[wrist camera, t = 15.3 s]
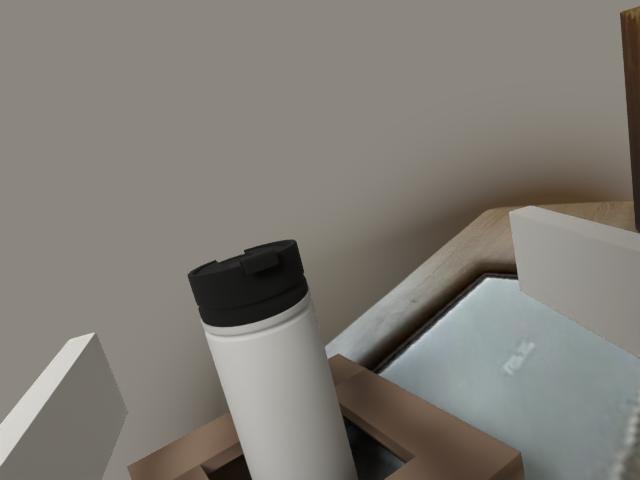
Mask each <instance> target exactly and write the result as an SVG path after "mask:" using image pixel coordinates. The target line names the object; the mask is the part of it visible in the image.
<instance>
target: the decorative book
mask: <svg viewBox="0 0 640 480" xmlns="http://www.w3.org/2000/svg"><path fill="white" fill-rule="evenodd" d="M620 18H621V30H622V46H623V59H624V73H625V87H626V101H627V115H628V129H629V142H630V157H631V170H632V184H633V198H634V212H635V226H636V229H637V230H638V231H640V7H636V8H633V9H630V10H626V11H623V12H621V13H620Z"/></svg>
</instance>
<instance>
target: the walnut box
mask: <svg viewBox="0 0 640 480" xmlns="http://www.w3.org/2000/svg"><path fill="white" fill-rule="evenodd" d="M328 363H329V367H330V371H331V375H332V379H333V382H334V386H335V390H336V394H337V398H338V402H339V406H340V410H341V414H342V418H343V421H344V425H345V426H347V425H348V424H350V423H351V424H352V425H354V426H355V427H356V428H358V429H359V430H360V431H362V432H363V433H365V434H366V435H367V436H369V437H370V438H371V439H373V440H374V441H375V442H377V443H378V444H379V445H381V446H382V447H384V448H385V449H386V450H388V451H389V452H390V453H392V454H393V455H394V456H396V457H397V458H398V459H400V460H401V461H402V462H404V463H405V465H403V466H402V467H401V468H399V469H398V470H397V471H395V472H394V473H392V474H391V475H390V476H388V477H387V478H386V479H384V480H525V477H524V470H523V464H522V457H521V452H519V451H517V450H515V449H514V448H512V447H510V446H508V445H506V444H504V443H502V442H501V441H499V440H497V439H495V438H493V437H491V436H490V435H488V434H486V433H484V432H482V431H480V430H478V429H477V428H475V427H473V426H471V425H469V424H467V423H466V422H464V421H462V420H460V419H458V418H456V417H454V416H453V415H451V414H449V413H447V412H445V411H443V410H442V409H440V408H438V407H436V406H434V405H432V404H430V403H429V402H427V401H425V400H423V399H421V398H419V397H418V396H416V395H414V394H412V393H410V392H408V391H406V390H405V389H403V388H401V387H399V386H397V385H395V384H394V383H392V382H390V381H388V380H386V379H384V378H382V377H381V376H379V375H377V374H375V373H373V372H371V371H370V370H368V369H366V368H364V367H362V366H360V365H358V364H357V363H355V362H353V361H351V360H349V359H347V358H346V357H344V356H342V355H340V354H337V355H335V356H333V357H331V358H329V359H328ZM128 470H129V473H130V476H131V479H132V480H252V477H251V474H250V471H249V468H248V465H247V462H246V459H245V456H244V453H243V449H242V446H241V443H240V440H239V437H238V434H237V431H236V428H235V425H234V422H233V418H232V415H231V412H228V413H227V414H225V415H223V416H221V417H219V418H217V419H215V420H214V421H212V422H210V423H208V424H206V425H204V426H202V427H200V428H199V429H197V430H195V431H193V432H192V433H189V434H187V435H186V436H184V437H182V438H180V439H178V440H176V441H174V442H173V443H171V444H169V445H167V446H165V447H163V448H162V449H160V450H158V451H156V452H154V453H152V454H150V455H148V456H147V457H145V458H143V459H141V460H139V461H137V462H135V463H133V464H132V465H130V466H128Z"/></svg>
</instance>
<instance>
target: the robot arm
mask: <svg viewBox="0 0 640 480" xmlns="http://www.w3.org/2000/svg"><path fill="white" fill-rule="evenodd" d="M509 217H510V223H511V230H512V237H513V244H514V251H515V258H516V265H517V272H518V279H519V285H520V291H522V292H524V293H526V294H527V295H529V296H531V297H533V298H534V299H536V300H538V301H540V302H541V303H543V304H545V305H547V306H548V307H550V308H552V309H554V310H555V311H557V312H559V313H561V314H562V315H564V316H566V317H568V318H569V319H571V320H573V321H575V322H576V323H578V324H580V325H582V326H584V327H585V328H587V329H589V330H591V331H592V332H594V333H596V334H598V335H599V336H601V337H603V338H605V339H606V340H608V341H610V342H612V343H613V344H615V345H617V346H619V347H620V348H622V349H624V350H626V351H627V352H629V353H631V354H633V355H634V356H636V357H638V358H640V234H639V233H635V232H631V231H627V230H624V229H620V228H616V227H612V226H608V225H604V224H600V223H596V222H593V221H589V220H585V219H581V218H577V217H573V216H569V215H565V214H562V213H558V212H554V211H550V210H546V209H542V208H538V207H534V206H527V207H524V208H521V209H517V210H514V211H510V212H509ZM127 414H128V410H127V407H126V405H125V403H124V400H123V398H122V395H121V393H120V390H119V388H118V385H117V383H116V380H115V378H114V375H113V373H112V371H111V368H110V366H109V363H108V361H107V358H106V356H105V353H104V351H103V349H102V346H101V343H100V341H99V339H98V336H97V334H96V332H94V333H91V334H87V335H84V336H80V337H77V338H73V339H70V340H69V341H68V342H67V343H66V345H65V346H64V347H63V348H62V349H61V350H60V352H59V353H58V354H57V355H56V357H55V358H54V359H53V360H52V362H51V363H50V364H49V365H48V367H47V368H46V369H45V370H44V372H43V373H42V374H41V375H40V376H39V378H38V379H37V380H36V381H35V383H34V384H33V385H32V387H30V389H29V390H28V391H27V393H26V394H25V395H24V396H23V398H22V399H21V400H20V401H19V402H18V404H17V405H16V406H15V407H14V409H13V410H12V411H11V412H10V413H9V415H8V416H7V417H6V418H5V420H4V421H3V422H2V423H1V425H0V480H101V479H102V477H103V475H104V472H105V469H106V467H107V465H108V462H109V459H110V457H111V454H112V452H113V449H114V447H115V444H116V442H117V439H118V437H119V434H120V431H121V429H122V426H123V424H124V421H125V419H126V416H127Z"/></svg>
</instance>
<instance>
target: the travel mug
mask: <svg viewBox="0 0 640 480" xmlns="http://www.w3.org/2000/svg"><path fill="white" fill-rule="evenodd" d="M244 252H245V254H243V255H239V256H236V257H233V258H230V259H227V260H225V261H222V262H219V263H218V262H217V261H216V260H214V261H212V262H209V263H207V264H204V265H202V266H200V267H198V268H196V269H194V270H192V271H191V272H190V273H189V274H188V279H189V281H190V285H191V288H192V291H193V294H194V297H195V300H196V303H197V305H198V306H199V313H200V316H201V322H202V325H203V327H204V329H205V335H206V338H207V341H208V344H209V347H210V350H211V353H212V356H213V359H214V363H215V366H216V369H217V372H218V375H219V378H220V381H221V384H222V387H223V391H224V394H225V397H226V400H227V403H228V406H229V409H230V412H231V415H232V418H233V422H234V425H235V428H236V431H237V434H238V437H239V440H240V443H241V446H242V449H243V453H244V456H245V459H246V462H247V465H248V468H249V471H250V474H251V477H252V480H358V476H357V472H356V468H355V464H354V461H353V457H352V453H351V449H350V445H349V441H348V437H347V433H346V429H345V425H344V421H343V418H342V414H341V410H340V406H339V402H338V398H337V394H336V390H335V386H334V382H333V379H332V375H331V371H330V367H329V363H328V359H327V355H326V351H325V347H324V343H323V340H322V336H321V332H320V328H319V324H318V320H317V316H316V312H315V308H314V304H313V301H312V299H311V293H310V289H309V286H308V285H307V281H306V278H305V276H304V275H303V273H304V270H303V266H302V262H301V258H300V254H299V250H298V246H297V242H296V241H295V240H283V241H277V242H272V243H268V244H264V245H260V246H256V247H253V248H250V249H246V250H244Z"/></svg>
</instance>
